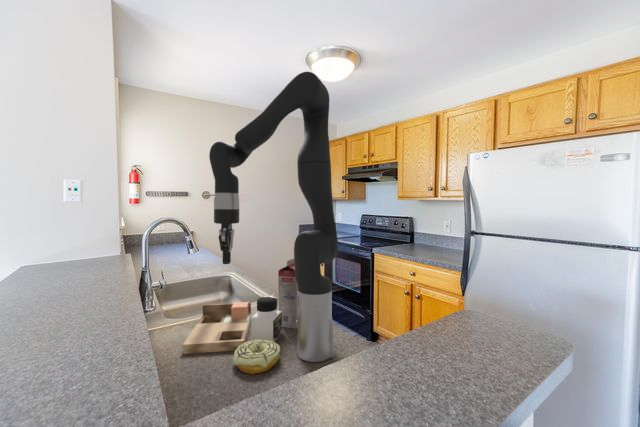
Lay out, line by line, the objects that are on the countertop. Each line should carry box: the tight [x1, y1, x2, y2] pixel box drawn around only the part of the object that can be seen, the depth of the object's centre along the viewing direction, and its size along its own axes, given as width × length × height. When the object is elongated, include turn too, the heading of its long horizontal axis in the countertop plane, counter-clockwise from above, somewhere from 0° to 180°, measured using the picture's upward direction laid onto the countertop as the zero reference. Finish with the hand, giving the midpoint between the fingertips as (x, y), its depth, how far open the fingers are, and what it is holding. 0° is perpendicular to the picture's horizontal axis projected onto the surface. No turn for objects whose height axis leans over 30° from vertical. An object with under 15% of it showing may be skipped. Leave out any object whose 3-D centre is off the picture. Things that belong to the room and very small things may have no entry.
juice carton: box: [277, 258, 298, 330], centre depth 95 cm, size 7×7×22 cm
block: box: [231, 301, 249, 320], centre depth 95 cm, size 5×5×4 cm
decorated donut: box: [232, 339, 281, 375], centre depth 71 cm, size 11×12×4 cm
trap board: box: [182, 301, 252, 355], centre depth 87 cm, size 16×22×6 cm
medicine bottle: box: [250, 295, 283, 343], centre depth 85 cm, size 7×7×12 cm
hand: (226, 263), depth 87 cm, fingers closed
